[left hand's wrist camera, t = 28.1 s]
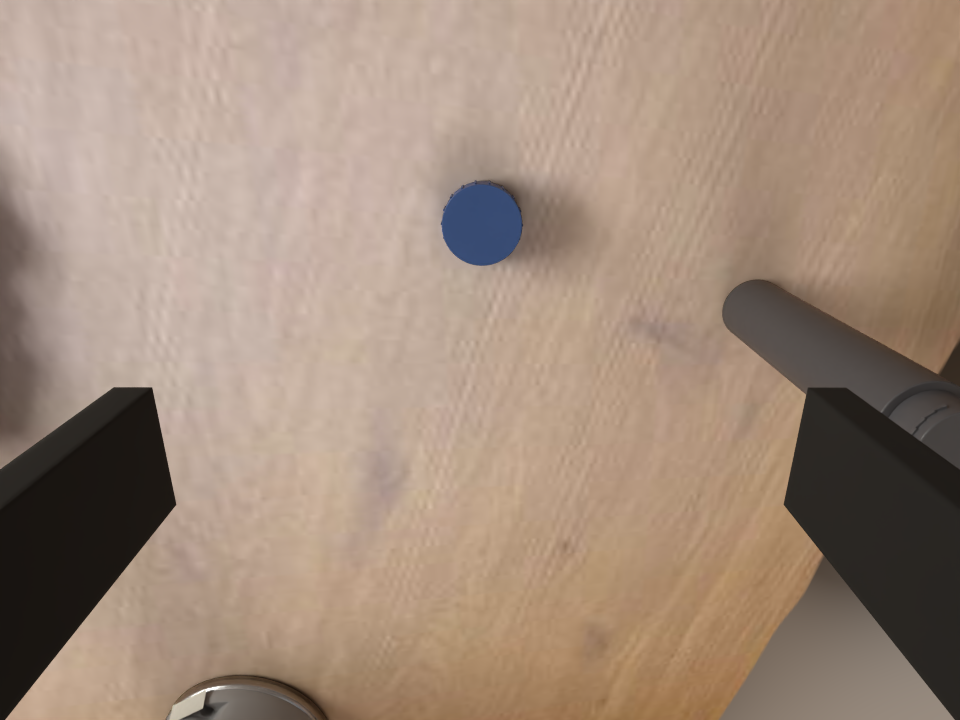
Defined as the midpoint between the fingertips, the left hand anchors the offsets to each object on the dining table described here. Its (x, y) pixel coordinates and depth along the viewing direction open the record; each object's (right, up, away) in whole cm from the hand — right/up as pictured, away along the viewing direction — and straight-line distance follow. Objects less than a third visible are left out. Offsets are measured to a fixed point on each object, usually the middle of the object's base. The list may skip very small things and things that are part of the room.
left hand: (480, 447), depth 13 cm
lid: (0, +10, +26) cm, 28 cm away
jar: (+19, +5, +30) cm, 36 cm away
